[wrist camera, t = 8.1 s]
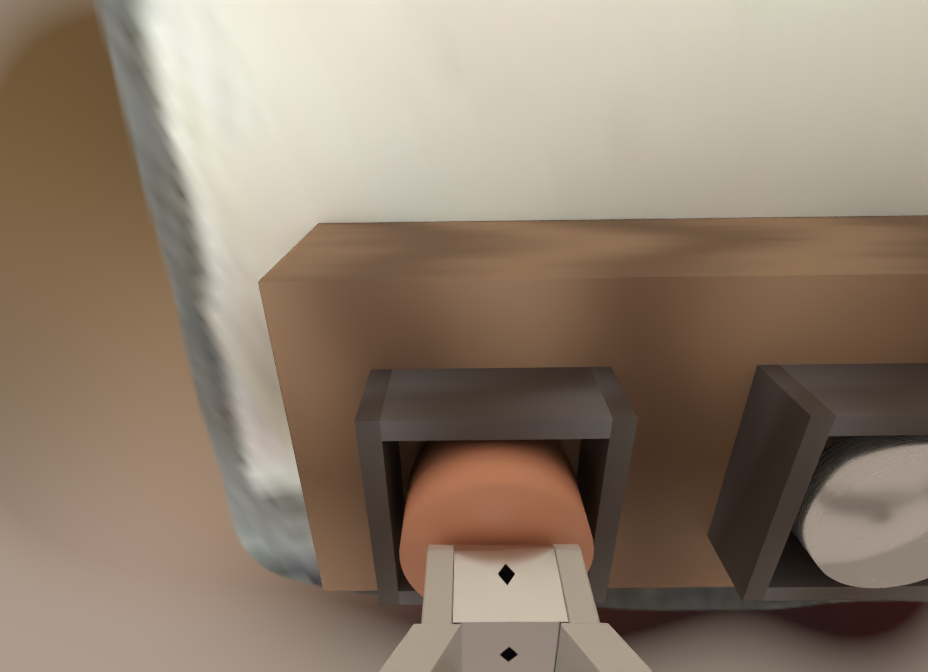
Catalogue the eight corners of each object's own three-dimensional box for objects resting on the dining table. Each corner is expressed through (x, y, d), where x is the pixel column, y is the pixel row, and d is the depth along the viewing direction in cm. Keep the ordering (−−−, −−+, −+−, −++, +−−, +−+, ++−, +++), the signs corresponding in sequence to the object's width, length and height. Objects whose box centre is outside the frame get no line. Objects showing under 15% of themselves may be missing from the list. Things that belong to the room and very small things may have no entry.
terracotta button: (581, 418, 11) (604, 482, 9) (567, 544, 13) (584, 617, 11) (403, 420, 11) (391, 485, 9) (413, 545, 13) (405, 619, 11)
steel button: (959, 397, 12) (1048, 454, 10) (894, 520, 13) (960, 586, 12) (788, 399, 12) (847, 456, 10) (747, 522, 13) (790, 589, 12)
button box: (946, 215, 15) (1292, 308, 9) (838, 470, 20) (1015, 651, 13) (318, 223, 15) (216, 321, 9) (355, 475, 20) (304, 658, 13)
